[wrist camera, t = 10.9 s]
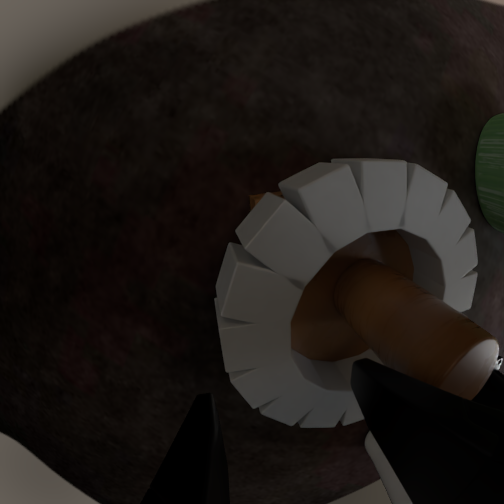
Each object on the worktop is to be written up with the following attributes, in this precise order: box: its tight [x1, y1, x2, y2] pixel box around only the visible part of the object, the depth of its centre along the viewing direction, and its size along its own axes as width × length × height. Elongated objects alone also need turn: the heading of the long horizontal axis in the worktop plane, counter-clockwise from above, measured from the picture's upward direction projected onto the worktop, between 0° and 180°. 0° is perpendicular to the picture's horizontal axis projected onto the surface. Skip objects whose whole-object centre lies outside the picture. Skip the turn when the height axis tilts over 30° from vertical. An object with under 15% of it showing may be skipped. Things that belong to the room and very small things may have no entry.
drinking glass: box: [365, 430, 413, 504], centre depth 12 cm, size 7×7×15 cm
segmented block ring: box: [214, 158, 478, 428], centre depth 12 cm, size 12×12×2 cm
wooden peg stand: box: [249, 191, 499, 400], centre depth 10 cm, size 9×9×8 cm
